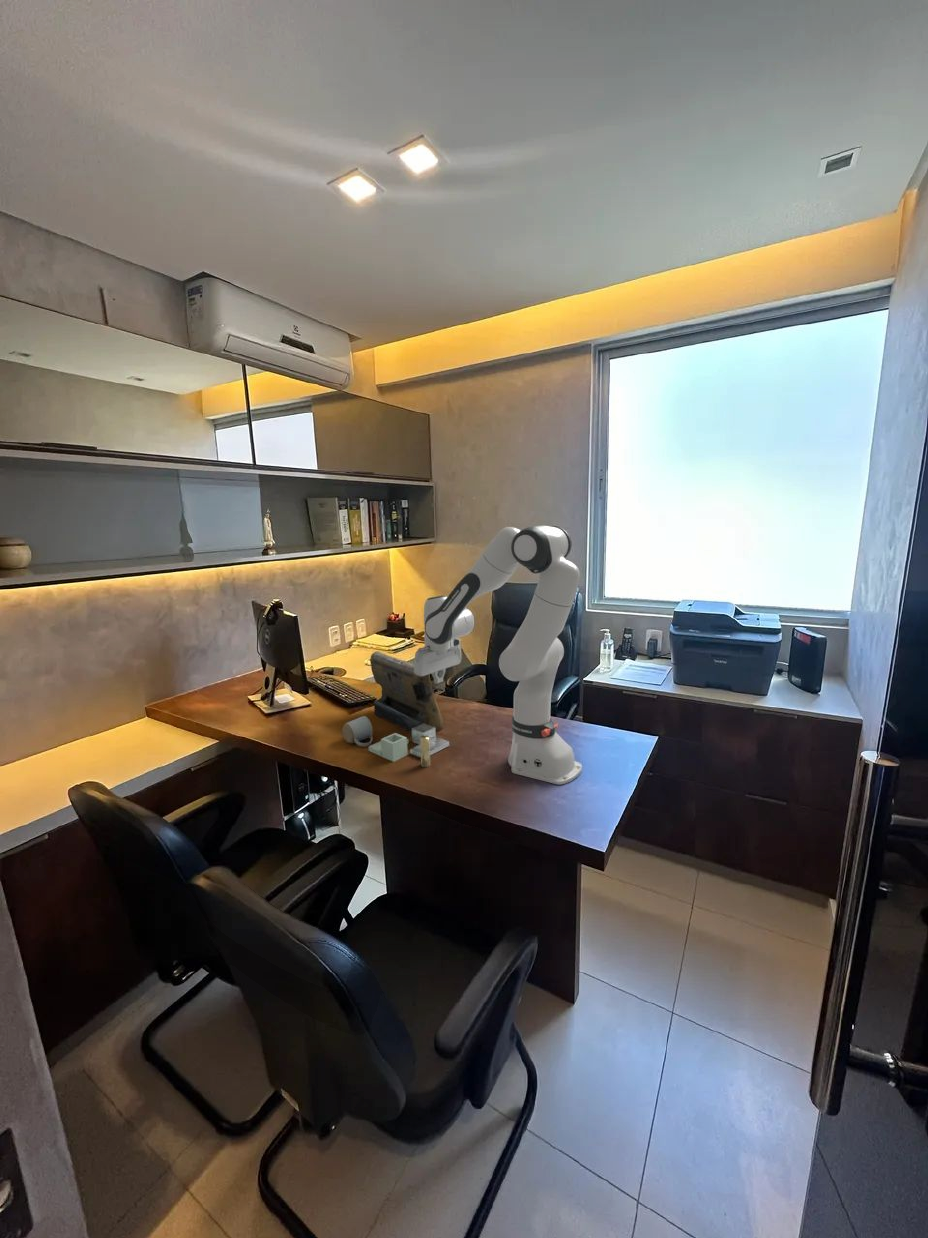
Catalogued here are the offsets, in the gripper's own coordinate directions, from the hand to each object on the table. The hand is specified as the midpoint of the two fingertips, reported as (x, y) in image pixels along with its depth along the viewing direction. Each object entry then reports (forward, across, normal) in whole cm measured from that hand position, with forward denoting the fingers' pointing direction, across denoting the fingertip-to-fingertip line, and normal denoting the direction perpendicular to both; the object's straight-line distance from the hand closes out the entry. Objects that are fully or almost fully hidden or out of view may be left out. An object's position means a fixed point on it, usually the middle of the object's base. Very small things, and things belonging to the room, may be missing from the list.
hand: (438, 682), depth 168 cm
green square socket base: (+19, -18, +3) cm, 26 cm away
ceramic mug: (+19, -21, +18) cm, 34 cm away
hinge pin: (+19, -19, -12) cm, 30 cm away
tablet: (+19, +1, +18) cm, 27 cm away
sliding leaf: (+19, -11, -3) cm, 22 cm away
